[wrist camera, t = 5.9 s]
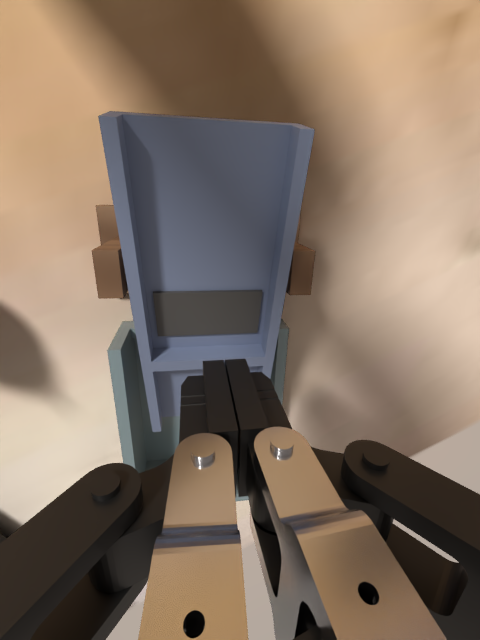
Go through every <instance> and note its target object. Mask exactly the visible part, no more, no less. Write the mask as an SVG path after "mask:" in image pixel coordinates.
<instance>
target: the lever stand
mask: <svg viewBox="0 0 480 640" xmlns="http://www.w3.org/2000/svg"><path fill="white" fill-rule="evenodd" d="M96 211H97V218H98V226H99V234H100V241H101V246H99V247H97V248H95V249H93V250H92V256H93V263H94V270H95V277H96V284H97V291H98V298H124V296H125V295H126V293H129V291H128V286H127V280H126V274H125V268H124V262H123V257H122V251H121V245H120V239H119V233H118V227H117V222H116V216H115V210H114V205H96ZM300 215H301V210H300ZM300 215H299V221H298V227H297V232H296V238H295V243H294V249H293V255H292V260H291V266H290V271H289V277H288V283H287V288H286V292H287V293H288V294H289V295H310V294H311V285H312V276H313V268H314V259H315V251H314V250H312V249H309V248H307V247H305V246H302V245H300V244H298V237H299V226H300Z"/></svg>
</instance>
